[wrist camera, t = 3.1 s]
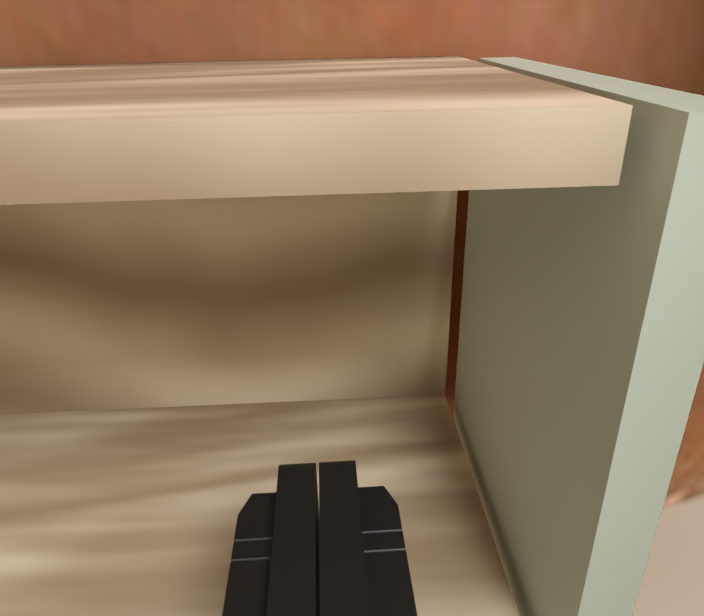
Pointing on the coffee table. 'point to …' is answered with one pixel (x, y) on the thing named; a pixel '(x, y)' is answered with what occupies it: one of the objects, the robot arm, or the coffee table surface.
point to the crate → (247, 308)
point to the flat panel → (584, 354)
